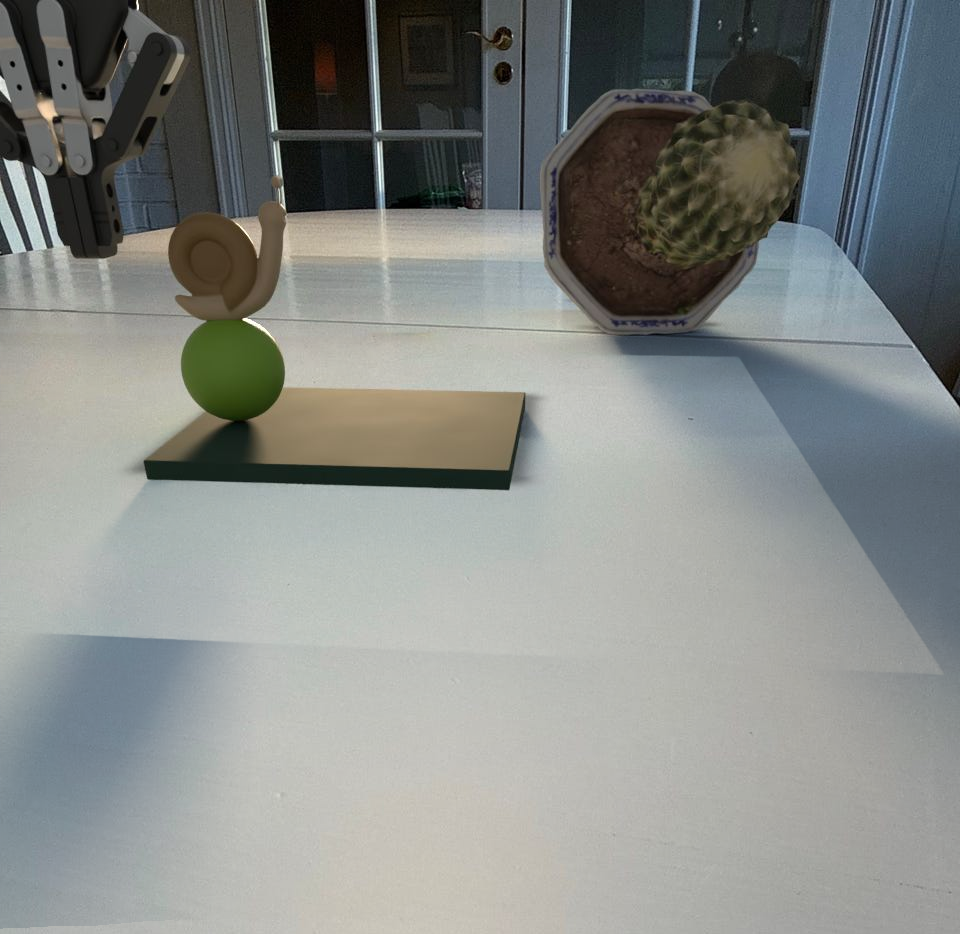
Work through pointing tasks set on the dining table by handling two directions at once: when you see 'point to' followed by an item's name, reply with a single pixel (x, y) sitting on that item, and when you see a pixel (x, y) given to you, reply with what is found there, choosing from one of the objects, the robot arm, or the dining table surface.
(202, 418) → the mat
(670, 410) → the dining table surface
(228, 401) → the snail figurine
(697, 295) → the potted plant
